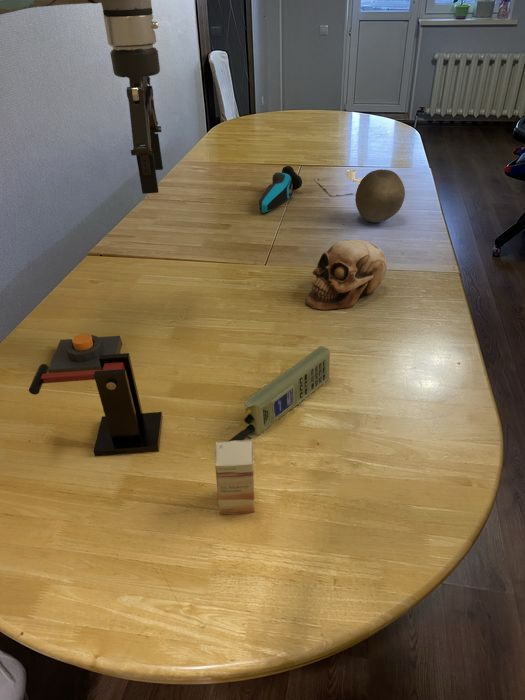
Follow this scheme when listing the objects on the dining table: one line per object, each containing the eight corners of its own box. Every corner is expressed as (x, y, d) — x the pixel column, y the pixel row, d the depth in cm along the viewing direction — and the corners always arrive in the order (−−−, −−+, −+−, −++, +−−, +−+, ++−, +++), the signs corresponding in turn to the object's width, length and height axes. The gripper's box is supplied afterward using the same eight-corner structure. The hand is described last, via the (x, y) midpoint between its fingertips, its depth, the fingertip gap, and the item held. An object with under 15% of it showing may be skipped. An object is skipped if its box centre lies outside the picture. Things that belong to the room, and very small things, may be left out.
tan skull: (300, 306, 116) (305, 248, 109) (323, 279, 130) (329, 227, 123) (369, 321, 111) (379, 262, 104) (385, 291, 125) (395, 238, 118)
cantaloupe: (348, 227, 152) (352, 176, 143) (359, 211, 162) (363, 162, 154) (397, 233, 147) (404, 180, 139) (404, 215, 158) (411, 165, 149)
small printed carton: (219, 515, 71) (212, 466, 65) (219, 490, 75) (213, 441, 69) (256, 513, 71) (253, 463, 65) (255, 488, 75) (252, 438, 69)
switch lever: (31, 397, 75) (26, 384, 73) (41, 374, 79) (37, 361, 78) (122, 390, 75) (119, 377, 74) (127, 367, 80) (124, 355, 78)
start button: (72, 352, 98) (70, 344, 97) (76, 341, 101) (74, 333, 100) (91, 350, 98) (89, 343, 97) (95, 340, 101) (93, 332, 100)
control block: (50, 379, 97) (44, 362, 95) (63, 348, 106) (58, 332, 103) (114, 374, 98) (110, 357, 96) (122, 344, 106) (118, 328, 104)
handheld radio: (332, 380, 94) (235, 458, 80) (318, 373, 96) (221, 448, 82) (333, 350, 91) (231, 425, 76) (318, 344, 93) (216, 416, 78)
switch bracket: (94, 456, 81) (71, 383, 72) (103, 421, 87) (82, 350, 79) (158, 451, 81) (143, 378, 73) (162, 416, 88) (148, 345, 79)
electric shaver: (280, 187, 182) (306, 191, 179) (245, 218, 166) (273, 224, 162) (279, 162, 177) (306, 166, 173) (243, 193, 160) (272, 197, 156)
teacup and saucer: (366, 185, 182) (367, 173, 180) (344, 187, 181) (345, 175, 179) (357, 177, 189) (358, 166, 187) (336, 179, 188) (337, 168, 186)
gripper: (151, 55, 73) (170, 202, 85) (161, 39, 93) (176, 160, 105) (97, 57, 72) (124, 205, 85) (119, 41, 93) (139, 162, 105)
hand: (153, 180), depth 95 cm, fingers open, 13 cm apart
